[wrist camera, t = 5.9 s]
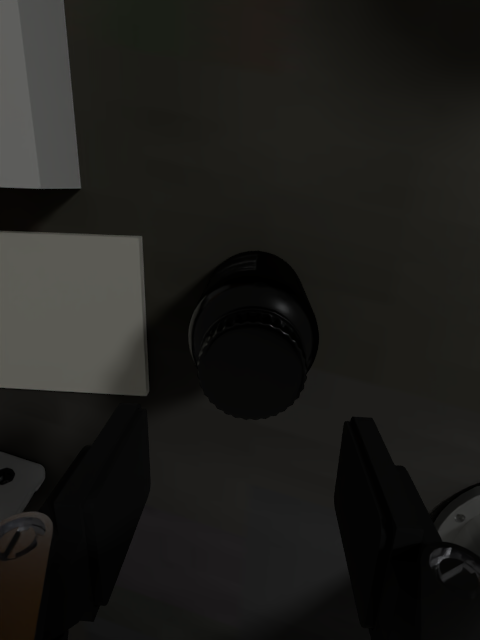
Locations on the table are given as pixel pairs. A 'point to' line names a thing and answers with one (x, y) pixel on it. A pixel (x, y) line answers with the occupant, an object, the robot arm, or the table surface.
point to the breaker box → (36, 98)
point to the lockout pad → (73, 313)
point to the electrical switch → (17, 483)
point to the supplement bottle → (253, 336)
